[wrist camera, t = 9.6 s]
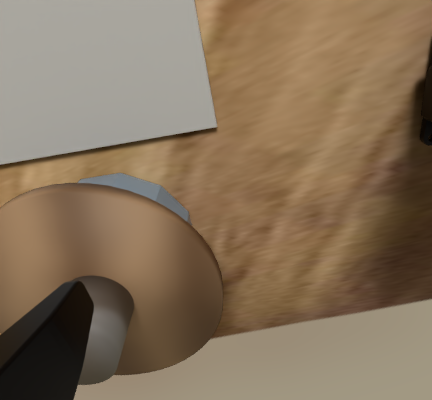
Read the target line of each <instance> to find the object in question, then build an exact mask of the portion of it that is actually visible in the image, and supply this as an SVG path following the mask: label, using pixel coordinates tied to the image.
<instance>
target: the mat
mask: <svg viewBox="0 0 432 400" xmlns="http://www.w3.org/2000/svg"><path fill="white" fill-rule="evenodd" d="M214 127H217V122H216V116H215V111H214V105H213V100H212V94H211V89H210V83H209V78H208V72H207V67H206V61H205V56H204V50H203V45H202V39H201V34H200V28H199V23H198V17H197V12H196V6H195V1H194V0H0V165H1V164H7V163H13V162H19V161H24V160H30V159H36V158H42V157H47V156H53V155H59V154H65V153H70V152H76V151H82V150H88V149H93V148H99V147H105V146H111V145H116V144H122V143H128V142H134V141H139V140H145V139H151V138H157V137H162V136H168V135H174V134H180V133H185V132H191V131H197V130H202V129H208V128H214Z"/></svg>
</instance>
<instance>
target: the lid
mask: <svg viewBox="0 0 432 400" xmlns="http://www.w3.org/2000/svg"><path fill="white" fill-rule="evenodd" d="M76 280H80V281H82V282H83V283H84V285H85V287H86V289H87V291H88V293H89V295H90V296H91V298H92V300H93V303H94V312H93V318H92V323H91V328H90V333H89V339H88V344H87V349H86V354H85V359H84V364H83V368H82V372H81V375H80V379H79V382H78V385H89V384H96V383H100V382H103V381H105V380H107V379H109V378H110V377H111V376H113V375H132V374H141V373H148V372H152V371H157V370H161V369H164V368H167V367H170V366H173V365H175V364H177V363H179V362H181V361H183V360H185V359H187V358H188V357H190V356H191V355H193V354H195V353H196V352H197V351H198V350H200V349H201V348H202V347H203V346H204V345H205V344H206V343H207V342H208V341H209V339H210V338H211V337H212V335H213V334H214V332H215V331H216V329H217V326H218V324H219V322H220V319H221V314H222V310H223V283H222V276H221V271H220V268H219V265H218V262H217V260H216V258H215V256H214V254H213V252H212V250H211V248H210V247H209V246H208V244H207V243H206V241H205V240H204V239H203V237H202V236H201V235H200V234H199V233H198V232H197V231H196V230H195V229H194V228H193V227H192V226H191V225H190V224H189V223H188V222H187V221H185V220H184V219H183V218H182V217H180V216H179V215H178V214H176V213H175V212H173V211H172V210H170V209H169V208H167V207H165V206H164V205H162V204H160V203H158V202H156V201H154V200H152V199H150V198H148V197H145V196H143V195H140V194H137V193H134V192H131V191H129V190H125V189H121V188H117V187H112V186H108V185H100V184H92V183H65V184H55V185H49V186H45V187H41V188H37V189H33V190H31V191H28V192H26V193H23V194H21V195H19V196H17V197H15V198H13V199H12V200H10V201H8V202H7V203H5V204H4V205H3V206H2V207H1V208H0V333H1V334H2V333H3V332H4V331H6V330H7V329H8V328H9V327H11V326H12V325H13V324H14V323H15V322H17V321H18V320H19V319H20V318H22V317H23V316H24V315H25V314H26V313H28V312H29V311H30V310H31V309H32V308H34V307H35V306H36V305H37V304H39V303H40V302H41V301H42V300H43V299H45V298H46V297H47V296H48V295H49V294H51V293H52V292H53V291H54V290H56V289H57V288H58V287H59V286H60V285H62V284H63V283H65V282H68V281H76Z"/></svg>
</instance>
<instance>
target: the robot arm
mask: <svg viewBox="0 0 432 400" xmlns="http://www.w3.org/2000/svg"><path fill="white" fill-rule="evenodd" d="M421 115H422V116H423V120H422V127H421V133H420V140H421V141H422V142H423V143H424V144H426V145H432V138H430V139H428V137H429V136H430V135H431V134H432V58H431V65H430V68H429V69H428V71H427V76H426V83H425V90H424V97H423V104H422V111H421ZM93 312H94V303H93V300H92V298H91V296H90V295H89V293H88V291H87V289H86V287H85V285H84V283H83V282H82V281H80V280H76V281H68V282H65V283H63V284H62V285H60V286H59V287H58V288H57V289H56V290H54V291H53V292H52V293H51V294H49V295H48V296H47V297H46V298H45V299H43V300H42V301H41V302H40V303H39V304H37V305H36V306H35V307H34V308H32V309H31V310H30V311H29V312H28V313H26V314H25V315H24V316H23V317H22V318H20V319H19V320H18V321H17V322H15V323H14V324H13V325H12V326H11V327H9V328H8V329H7V330H6V331H4V332H3V333H2V334H1V335H0V400H73V399H74V396H75V392H76V389H77V385H78V382H79V379H80V375H81V372H82V368H83V364H84V359H85V354H86V349H87V344H88V339H89V333H90V328H91V323H92V318H93Z"/></svg>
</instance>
